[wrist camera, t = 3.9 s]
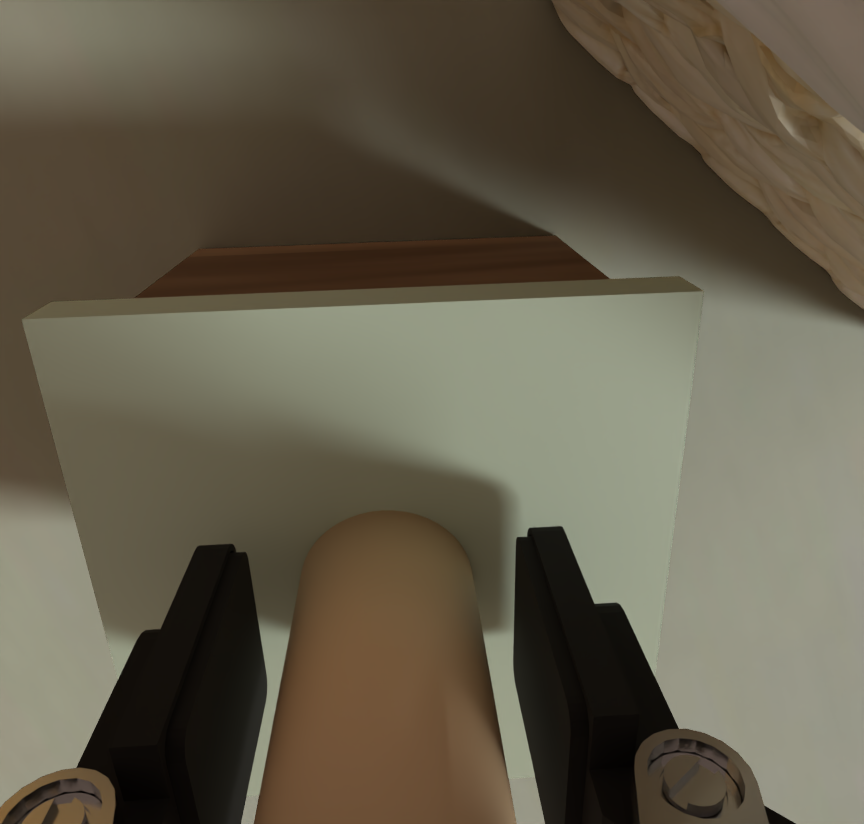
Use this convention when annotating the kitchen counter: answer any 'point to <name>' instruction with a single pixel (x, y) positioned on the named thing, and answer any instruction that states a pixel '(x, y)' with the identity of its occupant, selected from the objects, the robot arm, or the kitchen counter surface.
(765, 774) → the kitchen counter surface
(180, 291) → the walnut box
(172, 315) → the lid
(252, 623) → the robot arm
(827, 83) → the storage basket
